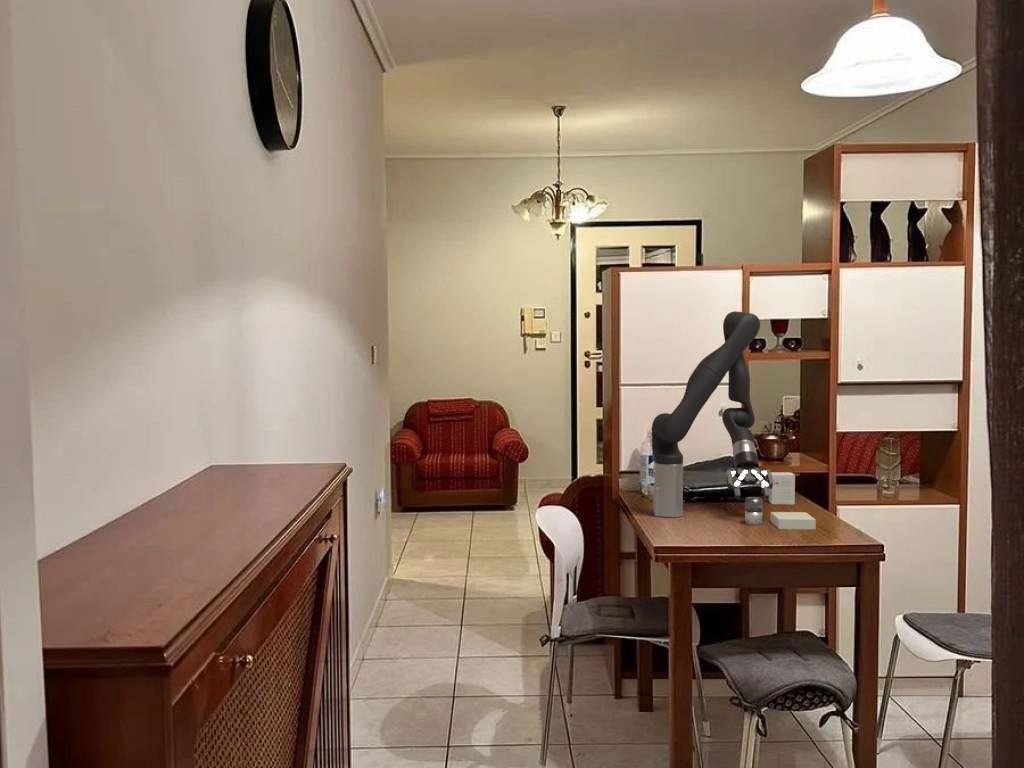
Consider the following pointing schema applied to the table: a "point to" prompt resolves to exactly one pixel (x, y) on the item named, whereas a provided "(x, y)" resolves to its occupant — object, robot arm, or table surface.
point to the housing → (753, 511)
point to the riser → (793, 520)
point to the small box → (782, 488)
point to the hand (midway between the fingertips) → (752, 498)
